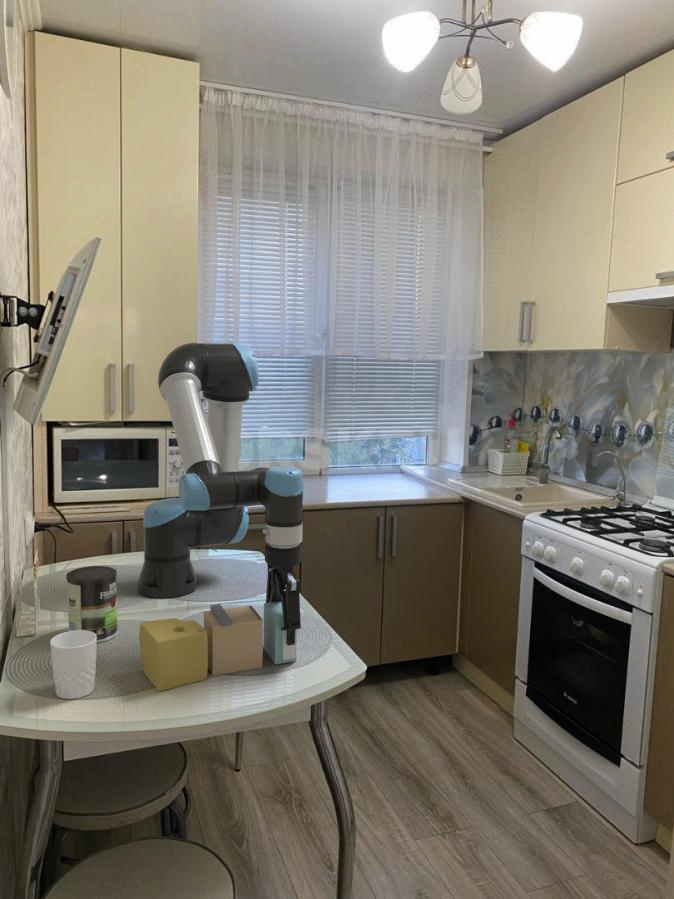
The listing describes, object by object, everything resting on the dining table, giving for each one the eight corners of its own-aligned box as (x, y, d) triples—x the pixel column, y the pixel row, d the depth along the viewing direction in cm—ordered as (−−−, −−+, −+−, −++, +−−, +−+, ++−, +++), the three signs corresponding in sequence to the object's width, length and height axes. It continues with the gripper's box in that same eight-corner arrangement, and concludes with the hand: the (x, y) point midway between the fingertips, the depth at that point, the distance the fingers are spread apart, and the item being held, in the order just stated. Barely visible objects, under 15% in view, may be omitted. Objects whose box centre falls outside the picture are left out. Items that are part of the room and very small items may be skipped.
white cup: (91, 700, 122) (89, 647, 120) (45, 701, 121) (43, 648, 120) (102, 679, 129) (101, 629, 128) (60, 680, 129) (58, 630, 127)
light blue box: (263, 648, 144) (263, 603, 143) (283, 645, 146) (284, 600, 144) (275, 664, 137) (275, 617, 135) (296, 660, 139) (297, 614, 137)
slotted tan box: (203, 657, 140) (203, 606, 138) (250, 649, 144) (250, 600, 142) (213, 677, 131) (213, 622, 130) (263, 668, 135) (263, 616, 134)
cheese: (190, 659, 139) (189, 612, 138) (210, 681, 130) (210, 631, 129) (139, 671, 133) (138, 622, 132) (156, 694, 124) (155, 642, 123)
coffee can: (126, 627, 154) (125, 567, 151) (102, 646, 144) (100, 582, 141) (85, 623, 156) (83, 563, 154) (58, 641, 146) (56, 578, 144)
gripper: (251, 531, 146) (250, 632, 150) (282, 560, 127) (280, 674, 131) (284, 529, 149) (283, 627, 152) (319, 556, 130) (316, 668, 133)
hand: (281, 649), depth 141 cm, fingers closed on light blue box, 8 cm apart
